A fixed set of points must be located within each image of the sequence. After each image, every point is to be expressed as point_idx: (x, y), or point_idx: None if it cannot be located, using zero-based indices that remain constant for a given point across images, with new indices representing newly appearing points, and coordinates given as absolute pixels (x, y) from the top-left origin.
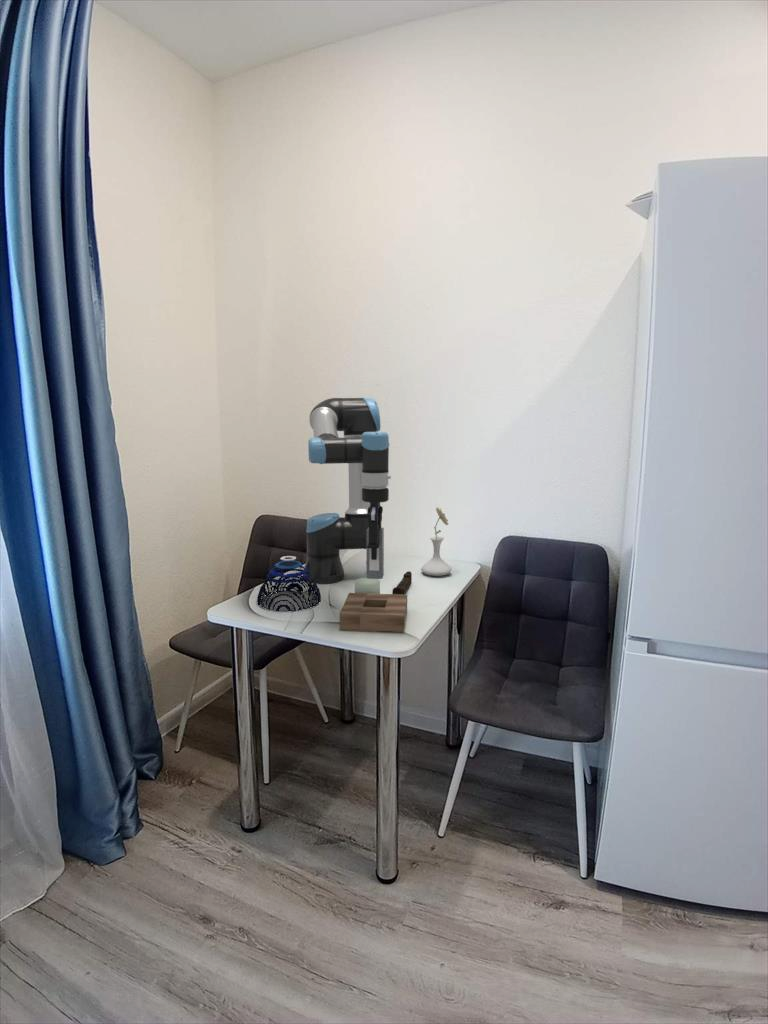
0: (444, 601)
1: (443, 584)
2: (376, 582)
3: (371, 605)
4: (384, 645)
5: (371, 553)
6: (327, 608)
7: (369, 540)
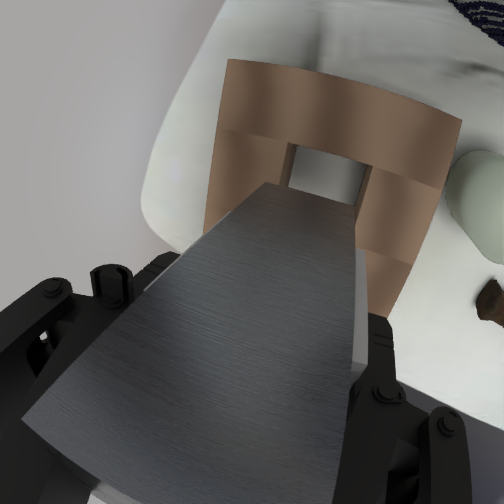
0: (409, 379)
1: (501, 396)
2: (491, 247)
3: (365, 183)
4: (152, 180)
5: (137, 275)
6: (447, 49)
7: (5, 314)
